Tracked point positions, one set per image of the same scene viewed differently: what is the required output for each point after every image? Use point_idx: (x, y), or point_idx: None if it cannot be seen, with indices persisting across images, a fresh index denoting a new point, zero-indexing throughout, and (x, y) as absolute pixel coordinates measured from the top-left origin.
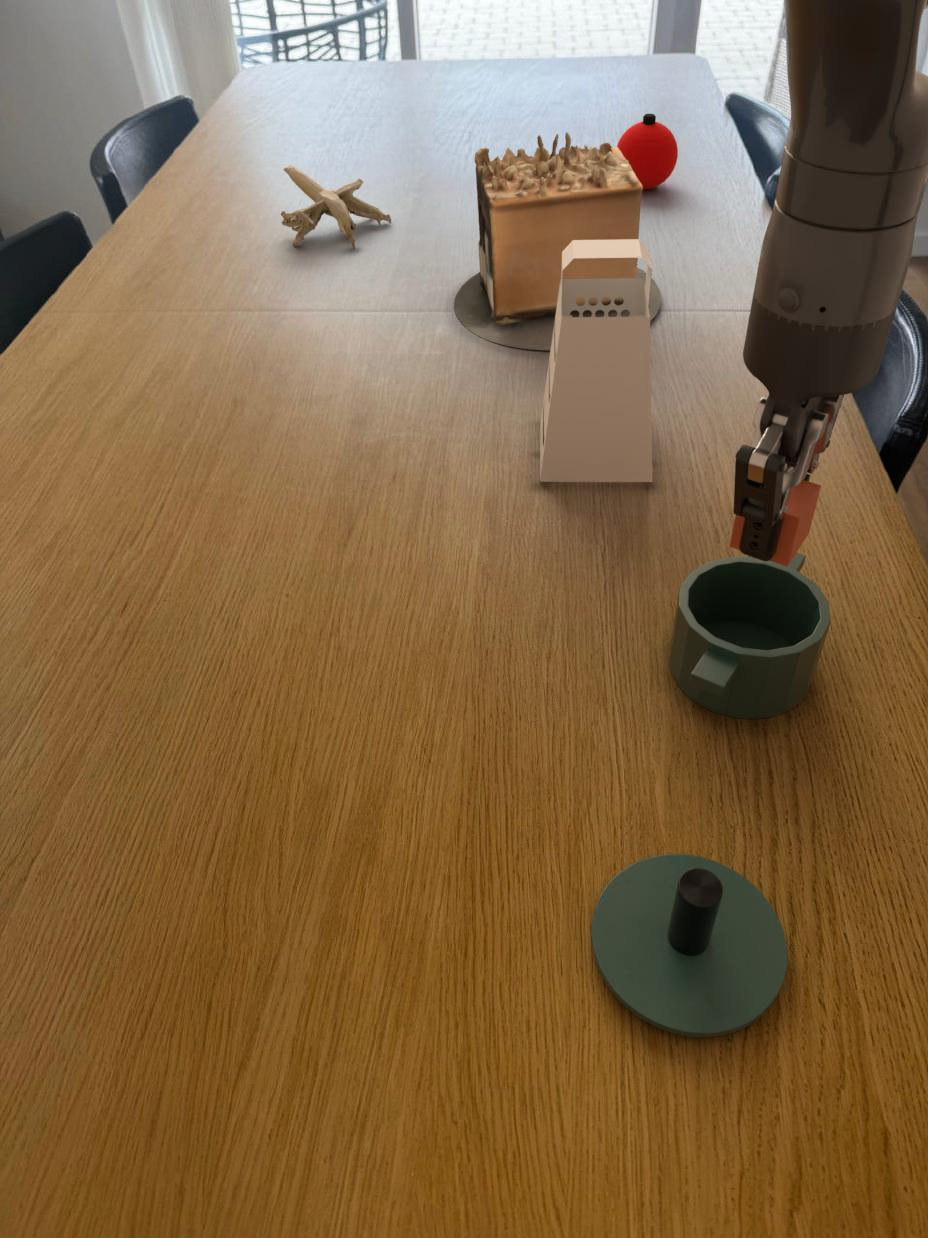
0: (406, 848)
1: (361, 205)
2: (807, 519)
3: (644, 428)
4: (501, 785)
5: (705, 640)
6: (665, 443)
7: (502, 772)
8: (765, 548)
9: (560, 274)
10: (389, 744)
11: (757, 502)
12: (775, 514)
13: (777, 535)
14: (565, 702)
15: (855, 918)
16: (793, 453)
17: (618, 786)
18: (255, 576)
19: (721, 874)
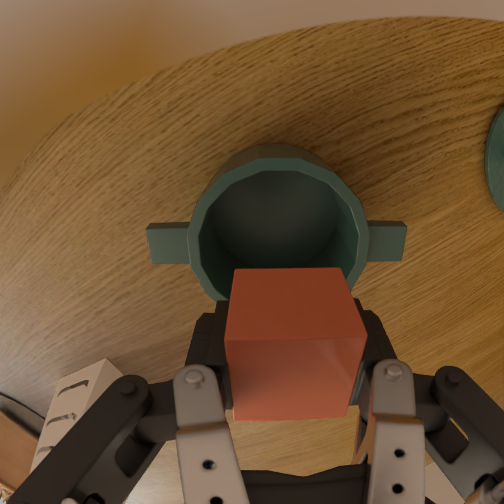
0: (499, 318)
1: None
2: (283, 303)
3: (93, 402)
4: (458, 305)
5: (362, 270)
6: (65, 361)
7: (449, 310)
8: (377, 323)
9: (29, 454)
10: (442, 365)
11: (444, 420)
12: (464, 387)
13: (367, 329)
14: (382, 311)
15: (468, 56)
16: (426, 499)
17: (441, 244)
18: (343, 461)
19: (494, 153)
